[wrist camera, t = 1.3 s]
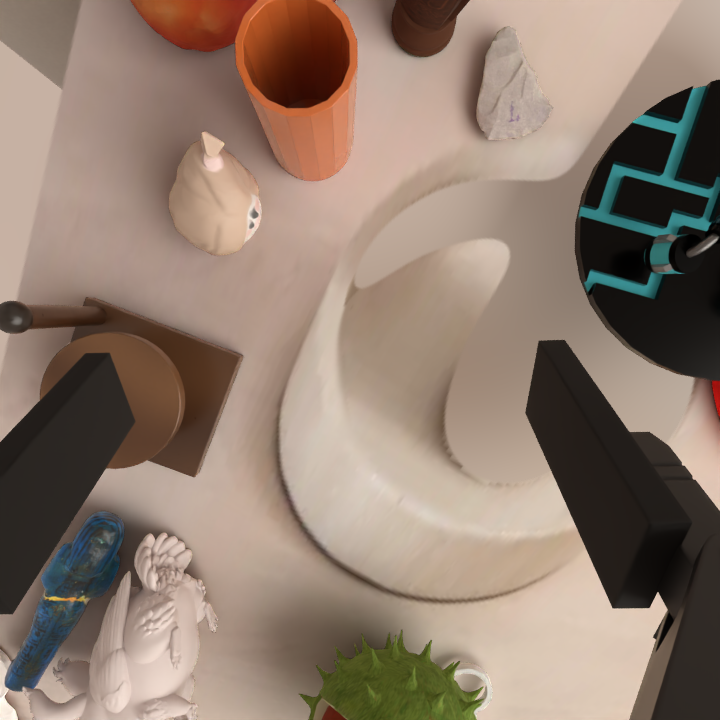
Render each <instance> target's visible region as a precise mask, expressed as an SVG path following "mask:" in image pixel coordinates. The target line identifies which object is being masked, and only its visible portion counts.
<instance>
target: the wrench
mask: <svg viewBox="0 0 720 720" xmlns="http://www.w3.org/2000/svg"><path fill="white" fill-rule="evenodd" d="M465 673H469V674H474V675H476V676H478V677H480V678H481V679H482V680H483V681H484V682H485V684H486V688H485V692H484V694H483V695H482V697H480V698H479V699H483V698H484V700H483V701H482V702H480V703H479V704H482V705H481V706H480V707H478V708H477V709H476V710H475V711H474V714H475V717H476V719H477V712H479V711H482V710H483V709H484V708H485V707H487V706H488V704H489V702H490V701H491V698H492V693H493V692H492V685H491V681H490V678H489V676H488V675H487V673H486V672H485V671H484V670H483V669H482V668H481V667H479V666H477V665H475V664H472V663H459V665H458V666H457V668H456V670H455V674H454V677H455V676H457V675H460V674H465ZM479 699H478V700H479Z"/></svg>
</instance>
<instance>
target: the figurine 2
mask: <svg viewBox="0 0 720 720" xmlns="http://www.w3.org/2000/svg"><path fill="white" fill-rule="evenodd" d="M191 558H192V552H191V550H189V549H185V544H184V542H183V541H178V540H177V538H176V537H175V536H171V537H168V536H167V534H166V533H161V534H160V535H159V536H158V537H157V538H156V540H155V538H154V536H153V535H152V534H148V535H146V536H145V538H144V539H143V541H142V542H141V543H140V545H139V547H138V549H137V551H136V554H135V559H134V564H135V569H136V572H137V574H138V576H139V578H140V580H141V581H142V587H143V589H141V588H140V587H138V586H135V588H134V587H132V586H131V573H130V571H128V572H127V574H125V576H124V578H123V579H122V580H121V583H120V587H119V588H118V590H117V593H116V595H114V596H113V597H112V599H111V600H110V603H109V605H108V608H107V610H106V613H105V616H104V619H103V622H102V626H101V630H100V634H99V637H98V639H97V641H96V643H95V645H94V648H93V651H92V654H91V659H90V663H88V662H85V661H70V660H69V658H67V659H66V660H65V662H64V663H63V662H62V658H60V660H59V662H58V669H59V670H60V671H57V670H55V668H54V667H53V673H54V675H55V676H56V677H57V678H61V679H58V680H57V681H61V682H62V684H63V685H64V686H65V688H66V690H67V691H68V692H69V693H70V694H71V695H72V696H74V697H73V698H72V699H71V700H69V701H68V702H66V703H56V702H54V701H52V700H50V699H49V698H48V697H47V696H46V695H45V694H44V692H43V691H42V690H40V689H31V688H27V687H24V686H23V688H22V691H23V693H24V694H25V695H26V696H27V697H28V698H29V700H30V702H29V704H30V710H31V713H32V714H33V716H34V717H33V720H76V719H78V718H79V720H166V719H168V718H174V719H175V720H197V718H198V716H197V715H196V708H197V707H198V705H196V704H195V703H190V699H191V697H192V693H193V690H194V687H195V679H194V676H193V675H192V671H193V669H194V667H195V665H196V662H197V660H198V656H199V649H200V640H199V631H198V625H197V624H198V623H199V622H201V621H202V620H203V618H204V617H206V619H207V622H208V626H209V629H210V630H211V631H212V632H213V631H214V632H215V633H216V628H218V627H217V626H218V624H217V622H216V621H218V617H217V616H216V615H215V612H214V611H213V609H212V607H211V605H210V603H209V602H206V600H205V599H204V596H205V594H206V591H205V586H204V585H202V581H201V580H200V579H194V578H193V577H191V576H190V575H188V574H184V573H183V572H184V570H185V569H186V567H187V566H188V564H189V563H190V561H191ZM57 681H56V682H57Z"/></svg>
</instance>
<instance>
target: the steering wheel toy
mask: <svg viewBox="0 0 720 720" xmlns="http://www.w3.org/2000/svg"><path fill="white" fill-rule="evenodd" d="M711 381H712V380H711ZM712 385H713V387H712V389H713V392H714V394H713V396H714V398H715V401H716V402H715V404H716V407H717V408H716V409H718V410H717V412H718V415H719V416H720V381H712ZM719 419H720V417H719Z"/></svg>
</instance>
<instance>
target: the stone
mask: <svg viewBox="0 0 720 720" xmlns="http://www.w3.org/2000/svg"><path fill="white" fill-rule="evenodd" d="M552 110H553V107H552V106H551V105H550V102H549V99H548V98H547V96H545V95H544V94H543V93H542V91H541V88H540V85H539V83H538V81H537V76H536V74H535V71H534V70H533V69H532V67H531V66H530V65H529V64H528V62H527V60H526V57H525V55H524V53H523V51H522V47H521V43H520V41H519V39H518V36H517V32H516V30H515V29H514V28H512V27H504V28H503V29H501V30H500V31H499V32H497V35H496V37H495V38H494V39H493V41H492V43H491V47H490V48H489V50H488V51H487V53H486V56H485V66H484V71H483V80H482V85H481V88H480V91H479V97H478V103H477V111H476V117H477V121H478V124H479V126H480V128H481V130H483V131H484V132H485V136H486V138H487V139H489V140H503V139H508V138H512V139H515V138H520V137H523V136H525V135H528V134H530V133H531V132H534V131H536V130H537V129H539V128H540V127H541V126H542V125H543V123H544V122H545V121H546V120H547V118H548V117H549V115H550V113H551V111H552Z"/></svg>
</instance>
